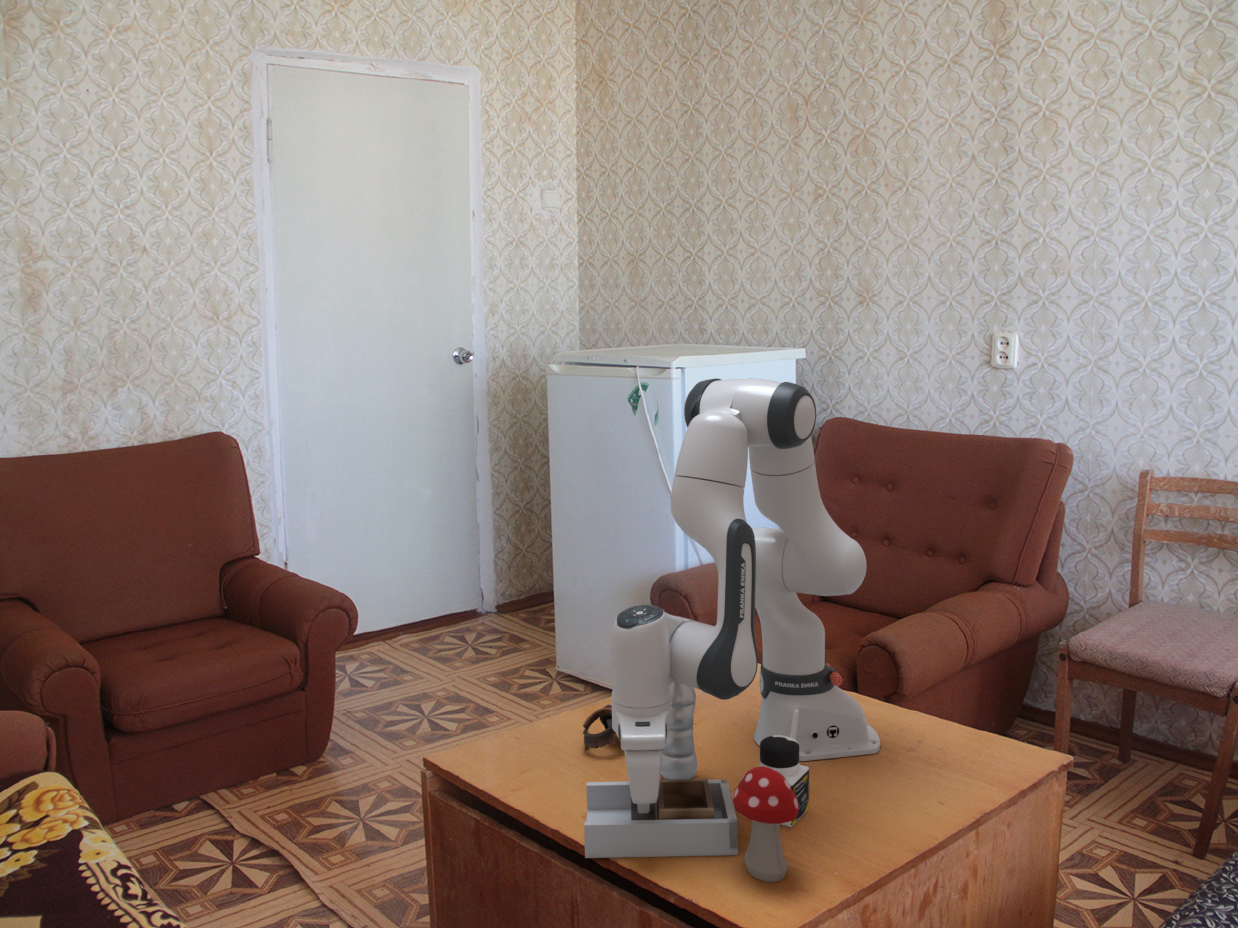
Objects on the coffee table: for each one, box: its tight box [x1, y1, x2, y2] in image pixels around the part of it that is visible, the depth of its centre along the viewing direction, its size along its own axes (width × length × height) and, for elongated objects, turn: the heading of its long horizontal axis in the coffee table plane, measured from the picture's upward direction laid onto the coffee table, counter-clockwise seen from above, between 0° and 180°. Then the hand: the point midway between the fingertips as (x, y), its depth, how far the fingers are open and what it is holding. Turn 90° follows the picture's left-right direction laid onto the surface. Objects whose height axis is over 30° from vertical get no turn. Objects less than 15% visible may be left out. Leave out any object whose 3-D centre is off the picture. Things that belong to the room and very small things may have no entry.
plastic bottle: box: [660, 682, 698, 780], centre depth 173 cm, size 6×7×20 cm
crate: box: [631, 778, 714, 820], centre depth 156 cm, size 12×10×7 cm
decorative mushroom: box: [732, 766, 799, 883], centre depth 144 cm, size 10×9×15 cm
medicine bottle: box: [757, 735, 810, 828], centre depth 161 cm, size 7×7×12 cm
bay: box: [583, 779, 739, 859], centre depth 156 cm, size 22×14×5 cm, turn 90°
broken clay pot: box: [582, 704, 617, 750], centre depth 189 cm, size 12×10×8 cm
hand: (643, 804), depth 155 cm, fingers closed on crate, 3 cm apart
